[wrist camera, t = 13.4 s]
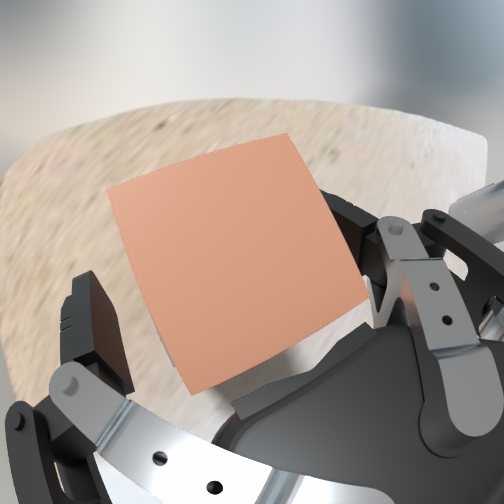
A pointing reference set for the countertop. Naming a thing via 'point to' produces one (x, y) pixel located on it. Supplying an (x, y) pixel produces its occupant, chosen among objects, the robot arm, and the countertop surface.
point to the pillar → (235, 257)
